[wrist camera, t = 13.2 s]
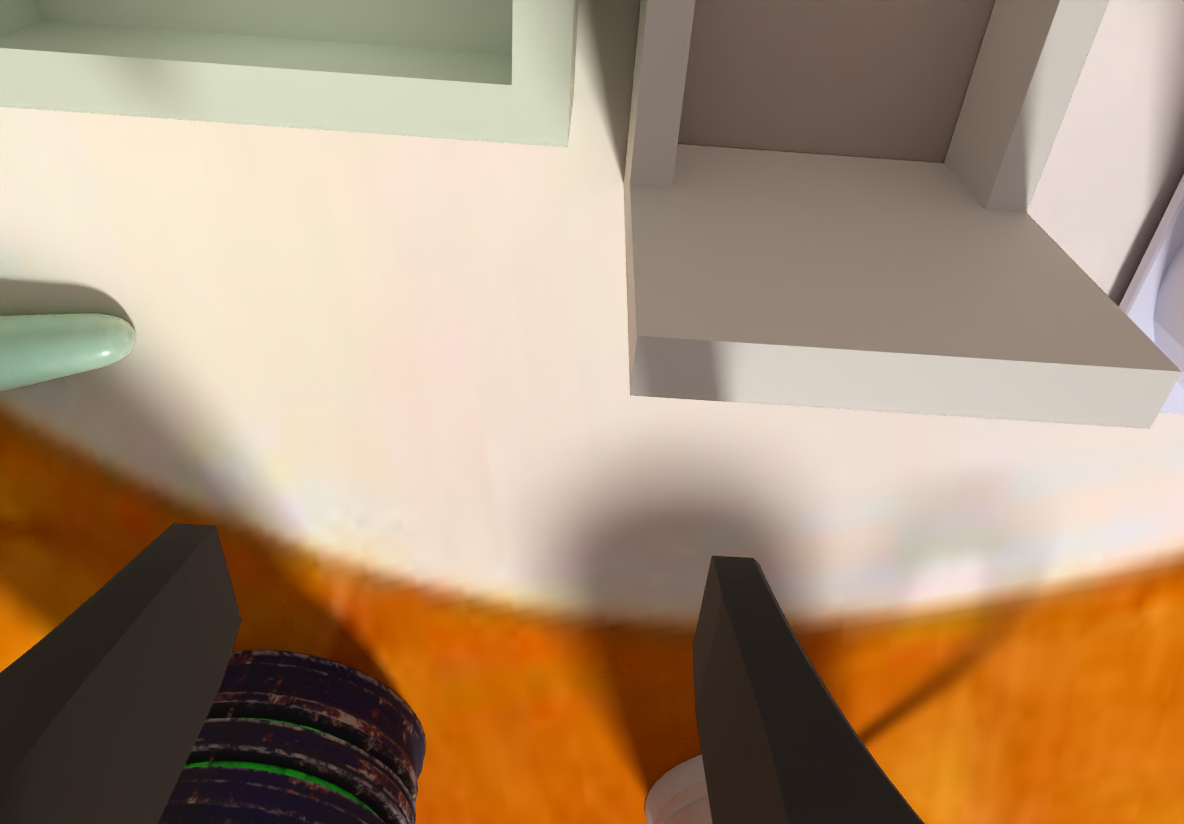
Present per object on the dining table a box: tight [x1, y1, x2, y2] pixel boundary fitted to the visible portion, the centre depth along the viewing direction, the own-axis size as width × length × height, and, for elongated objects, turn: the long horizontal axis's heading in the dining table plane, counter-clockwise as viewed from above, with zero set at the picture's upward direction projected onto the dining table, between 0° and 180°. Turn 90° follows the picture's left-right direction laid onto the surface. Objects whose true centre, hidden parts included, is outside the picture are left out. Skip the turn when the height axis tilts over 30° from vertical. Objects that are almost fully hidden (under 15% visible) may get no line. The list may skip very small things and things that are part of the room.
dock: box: [624, 0, 1182, 429], centre depth 14 cm, size 8×5×8 cm
